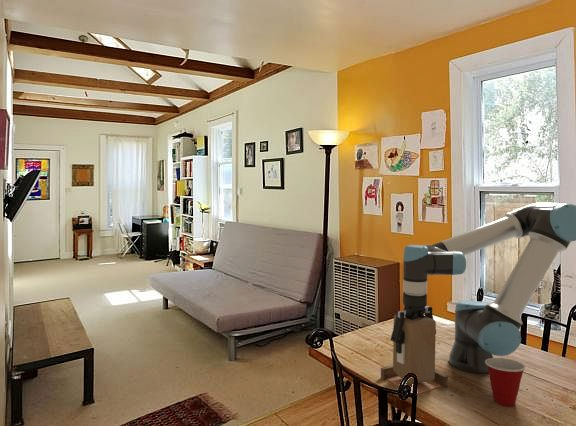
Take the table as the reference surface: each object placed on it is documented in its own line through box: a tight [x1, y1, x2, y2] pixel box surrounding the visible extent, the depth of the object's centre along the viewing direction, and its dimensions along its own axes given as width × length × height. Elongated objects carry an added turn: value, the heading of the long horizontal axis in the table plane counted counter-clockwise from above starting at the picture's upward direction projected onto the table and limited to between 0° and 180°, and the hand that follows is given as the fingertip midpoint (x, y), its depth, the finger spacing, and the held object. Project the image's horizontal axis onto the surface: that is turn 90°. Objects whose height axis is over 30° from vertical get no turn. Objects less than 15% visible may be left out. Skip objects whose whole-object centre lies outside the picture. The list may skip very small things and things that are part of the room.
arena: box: [380, 364, 449, 388], centre depth 136 cm, size 15×15×4 cm
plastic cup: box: [485, 357, 526, 407], centre depth 123 cm, size 11×11×12 cm
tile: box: [386, 376, 442, 395], centre depth 136 cm, size 12×12×1 cm
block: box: [392, 314, 437, 384], centre depth 135 cm, size 10×10×20 cm
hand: (413, 359), depth 135 cm, fingers closed on block, 11 cm apart
